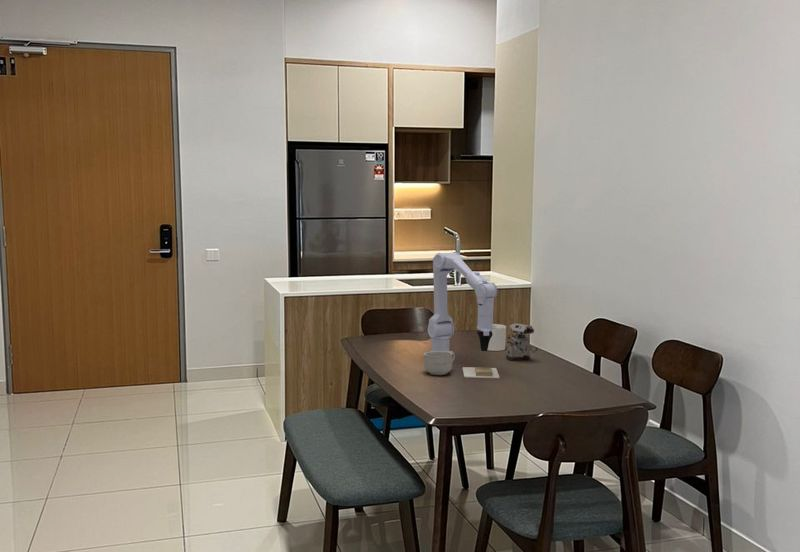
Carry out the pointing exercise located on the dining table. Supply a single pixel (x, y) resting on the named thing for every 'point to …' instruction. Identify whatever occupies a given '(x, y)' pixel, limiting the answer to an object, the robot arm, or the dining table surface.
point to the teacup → (438, 362)
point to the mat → (471, 373)
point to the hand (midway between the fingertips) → (484, 350)
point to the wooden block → (483, 371)
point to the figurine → (519, 341)
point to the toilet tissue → (497, 338)
